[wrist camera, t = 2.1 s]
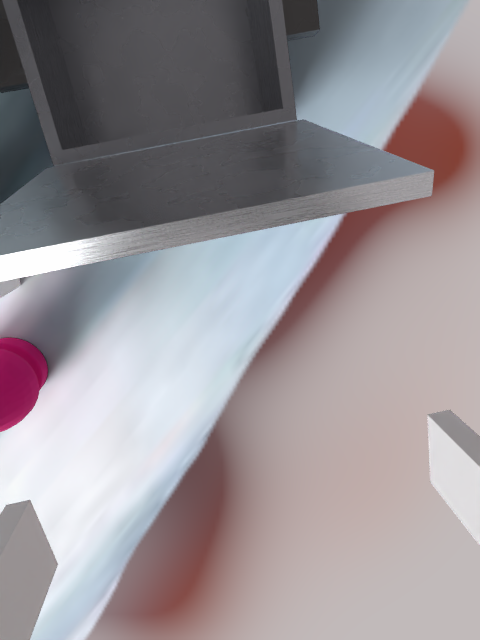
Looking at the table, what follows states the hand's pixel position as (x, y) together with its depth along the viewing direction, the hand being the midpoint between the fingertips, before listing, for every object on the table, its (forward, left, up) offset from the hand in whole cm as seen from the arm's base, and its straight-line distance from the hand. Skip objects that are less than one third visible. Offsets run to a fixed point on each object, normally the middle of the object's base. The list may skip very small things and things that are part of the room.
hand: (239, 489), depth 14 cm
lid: (-10, 0, -10) cm, 14 cm away
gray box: (-20, 0, -27) cm, 34 cm away
